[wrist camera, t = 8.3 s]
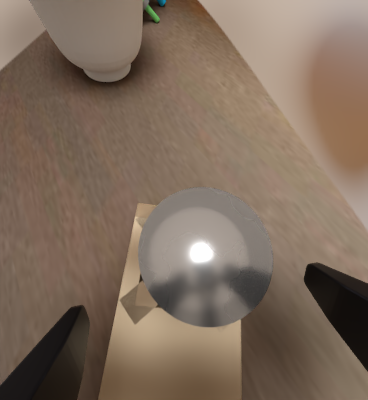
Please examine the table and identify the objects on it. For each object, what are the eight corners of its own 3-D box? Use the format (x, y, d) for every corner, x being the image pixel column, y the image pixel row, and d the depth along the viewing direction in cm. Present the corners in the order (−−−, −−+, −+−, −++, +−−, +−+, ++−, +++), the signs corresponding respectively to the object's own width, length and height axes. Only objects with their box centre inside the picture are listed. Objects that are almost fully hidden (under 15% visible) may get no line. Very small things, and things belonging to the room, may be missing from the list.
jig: (225, 477, 12) (242, 534, 9) (93, 468, 12) (72, 525, 9) (228, 225, 18) (240, 215, 16) (142, 214, 18) (138, 202, 15)
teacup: (152, 25, 29) (146, -95, 20) (158, 102, 23) (154, -15, 14) (64, 22, 27) (13, -110, 18) (48, 102, 22) (-36, -28, 13)
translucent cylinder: (214, 287, 16) (297, 297, 6) (162, 305, 15) (158, 353, 5) (197, 235, 18) (241, 175, 8) (149, 250, 17) (125, 203, 7)
